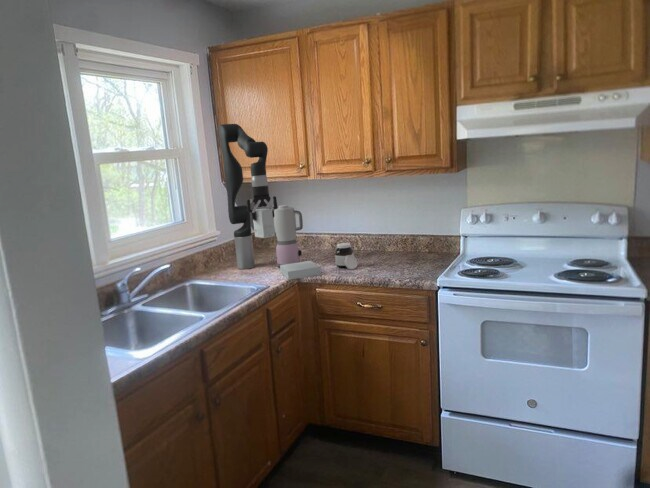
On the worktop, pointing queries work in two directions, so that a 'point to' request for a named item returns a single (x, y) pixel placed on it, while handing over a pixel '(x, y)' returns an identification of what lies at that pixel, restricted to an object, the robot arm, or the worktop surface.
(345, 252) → the spread jar
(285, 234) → the blender
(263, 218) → the small box
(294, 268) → the block
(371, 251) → the worktop surface
